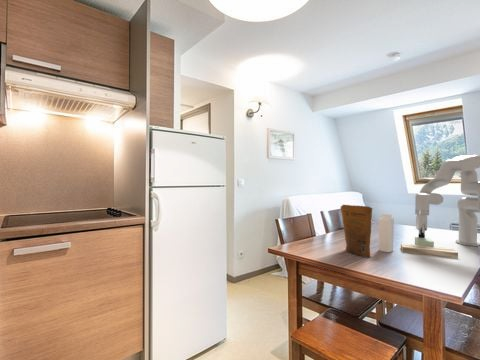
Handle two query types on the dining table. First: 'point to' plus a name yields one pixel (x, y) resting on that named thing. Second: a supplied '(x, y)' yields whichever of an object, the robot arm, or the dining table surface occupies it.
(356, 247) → the pancake mix bag
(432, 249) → the board
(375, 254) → the dining table surface
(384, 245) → the milk
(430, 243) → the block
